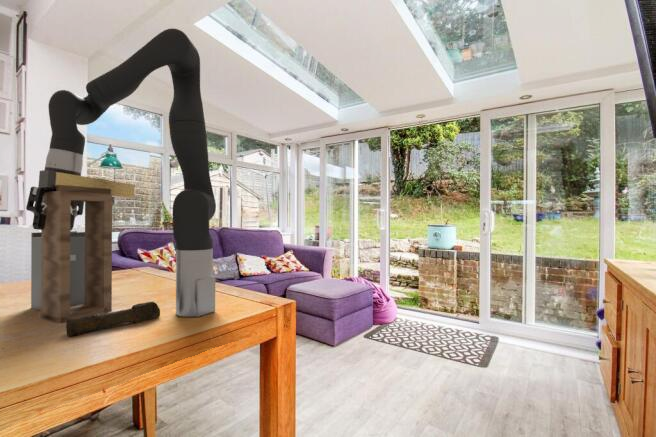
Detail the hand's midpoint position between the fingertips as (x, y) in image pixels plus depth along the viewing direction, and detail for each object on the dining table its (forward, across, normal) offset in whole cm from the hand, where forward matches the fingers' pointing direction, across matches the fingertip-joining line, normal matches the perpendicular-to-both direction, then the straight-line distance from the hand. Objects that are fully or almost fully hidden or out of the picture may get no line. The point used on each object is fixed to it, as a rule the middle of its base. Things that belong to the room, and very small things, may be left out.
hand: (53, 229), depth 85 cm
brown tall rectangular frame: (+21, +2, -9) cm, 23 cm away
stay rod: (-11, +4, -6) cm, 13 cm away
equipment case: (+22, +10, +3) cm, 25 cm away
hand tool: (+20, -6, -25) cm, 33 cm away
